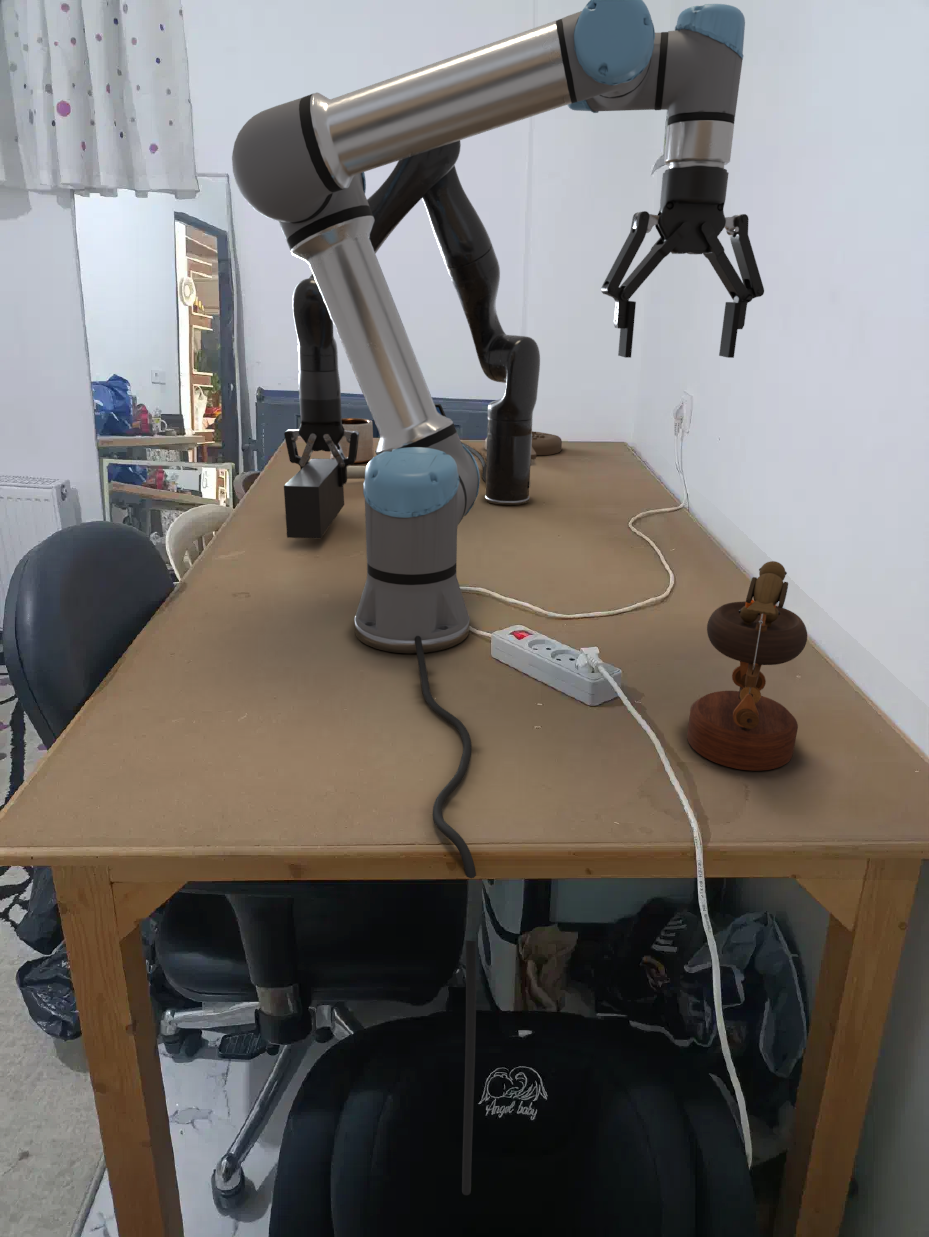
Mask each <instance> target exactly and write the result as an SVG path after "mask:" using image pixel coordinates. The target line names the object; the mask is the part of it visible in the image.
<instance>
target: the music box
mask: <svg viewBox="0 0 929 1237" xmlns="http://www.w3.org/2000/svg"><path fill="white" fill-rule="evenodd" d="M758 571H759V573H758V574H759V576H758V577H757V576H752V578H751V580H750V583H749V587H748V591H747V595H746V598H745V601H733V602H728V603H725V604H722V605H720V606H718V607H717V608H716V609H715V610H714V611H713V612H712V613H711V614H710V616H709V618H708V621H707V624H706V633H707V637H708V640H709V642H710V643H711V645H712V646H713V648H715V650H716V651H717V652H719V653H721V655H723V656H725V657H727V658H728V659H729V658H730V659H732V660H735V661H738V662H739V665H738V666H736V667H735V668H734V669H733V671H732V673H731V679H732V682H733V684H735V686H737V687H739V689H738V690H720V691H719V690H718V691H714V692H710V693H707V694H705V695H703V696H701V697H699V698H697V699H696V700H695V701H694V702H693V703H692V704H691V707H690V710H689V711H690V712H689V718H688V726H687V734H686V737H687V741H688V744H689V745H690V747H691V748H692V749H693V750H694V751H695V752H696V753H697V754H699V755H700V756H702V757H704V758H705V759H707V760H709V761H711V762H713V763H715V764H718V765H720V766H723V767H728V768H731V769H737V770H741V771H753V772H754V771H755V772H756V771H760V772H761V771H769V770H774V769H778V768H781V767H783V766H785V765H786V764H788V763H789V762H790V761H791V759H793V756H794V750H795V746H796V745H795V744H796V740H797V733H798V729H799V723H798V721H797V719H796V718H795V716H794V715H793V713H791V712H790V711H789V710H788V708H786V707H785V706H784V705H782V704H781V703H779V702H777V701H776V700H774V699H771V698H769V697H766V696H764V695H762V692H761V691H762V690H763V689H764V688H765V686H766V681H767V680H766V677H765V675H764V673H762V671H761V669H762V666H775V665H780V664H781V665H782V664H785V663H788V662H790V661H792V660H794V659H795V658H797V657H798V656H800V655H801V654H802V653H803V651H804V649H805V647H806V645H807V642H808V630H807V627H806V624H805V622H804V620H802V618H801V617H800V616H799V615H798V614H797V613H795V612H793V611H791V610H789V609H787V608H785V607H784V605H785V602H786V598H787V594H788V588H789V582H788V581H784V580H785V578H786V575H788V572H787V571H786V569H785V567H784V565H783V564H782V563H780V562H778V561H775V560H770V561H767V562H765V563H764V564H763V565H761V567H760V568H759V569H758ZM777 604H778V605H777Z"/></svg>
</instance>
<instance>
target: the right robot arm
mask: <svg viewBox="0 0 929 1237" xmlns="http://www.w3.org/2000/svg"><path fill="white" fill-rule="evenodd" d="M461 145H462V144H461V140H459V141H456V142H453V143H450V144H447V145H444V146H441V147H438V148H435V149H432V150H429V151H426V152H423V153H420V154H417V155H414V156H411V157H408V158H405V159H402V160H399V161H397V163H396V165H395V166H394V168H393V169H392V171H391V173H390V174H389V176H388V177H387V178H386V179H385V180H384V181H383V183H382V184H381V185H380V187H379V188H377V190H376V191H375V192H373V194H372V195H370V196H369V197H368V198H366V199H367V201H368V204H369V206H370V209H371V212H372V214H373V217H374V220H375V221H374V223H373V226H372V229H371V232H370V237H369V239H370V241H371V244H372V247H373V249H374V252H375V254H377V252H378V251H379V250H380V248H381V247H382V246H383V244H384V243H385V242H386V241H387V239H388V238H389V237H390V235H391V233H393V232H394V230H395V229H396V228H397V227H398V225H399V224H400V223H401V222H402V221H403V219H405V217H406V216H407V215H408V214H409V213H410V211H412V210H413V209H414V207H415V206H417V204H418V203H419V202H420V201H421V200H422V202H423V204H424V208H425V209H426V212H427V216H428V219H429V222H430V225H431V228H432V232H433V235H434V237H435V240H436V243H437V246H438V249H439V252H440V254H441V258H442V260H443V264H444V266H445V268H446V271H447V273H448V275H449V278H450V280H451V283H452V285H453V287H454V289H455V292H456V294H457V297H458V300H459V302H460V305H461V307H462V310H463V314H464V315H465V316H464V317H465V319H466V321H467V324H468V327H469V330H470V334H471V338H472V340H473V344H474V349H475V353H476V355H477V359H478V362H479V365H480V368H481V370H482V372H483V374H484V375H485V376H486V377H487V379H489V380H491V381H493V382H496V383H502V384H505V391H504V394H503V396H501V398H499V399H496V400H493V401H491V402H489V403H488V405H487V415H486V416H487V417H486V418H487V422H486V438H487V450H486V458H484V456H483V455H481V453H479V451H477V450H476V449H475V448H473V447H471V445H470V446H469V445H468V444H466V443H464V442H462V441H461V443H462V445H464V446H465V447H466V448H467V449H468V450H469V451H470V452H471V453H473V455H475V456H476V457H477V458H478V459H479V460H480V462H481V465H482V474H481V477H482V479H483V481H484V483H485V494H484V500H485V502H487V503H490V504H494V505H500V506H520V505H524V504H527V503H529V502H530V486H531V481H532V480H531V462H532V461H531V460H532V459H531V443H532V432H533V417H534V410H535V407H536V404H537V400H538V391H539V379H540V370H541V352H540V347H539V345H538V343H537V341H536V340H535V339H533V338H532V337H530V336H526V335H515V334H506V332H505V331H504V329H503V326H502V324H501V322H500V319H499V316H498V312H497V306H496V303H497V297H498V292H499V288H500V287H499V286H500V282H501V281H500V280H501V269H500V263H499V260H498V257H497V255H496V252H495V249H494V246H493V242H492V240H491V237H490V235H489V233H488V231H487V229H486V227H485V225H484V223H483V220H481V217H480V216H479V215H478V212H477V210H476V209H475V207H474V206H473V204H472V202H471V200H470V199H469V197H468V195H467V194H466V192H465V189H464V188H463V186H462V183H461V180H460V178H459V175H458V171H457V168H456V164H457V162H458V160H459V157H460V153H461ZM292 314H293V321H294V322H293V323H294V327H295V332H296V338H297V344H298V345H297V352H298V354H297V355H298V371H299V372H298V398H299V413H300V414H299V415H300V426H299V428H297V429H291V428H289V429H287V430H286V431H284V433H283V435H284V440H285V445H286V449H287V454H288V459H289V462H290V463H291V464H296V465H298V466H299V470H301V469H302V468H303V467H304V466H305V465H306V464H307V463H308V462H309V461H310V460H311V459H310V458H311V457H312V454H313V453H314V452H321V451H323V452H327V453H330V451H331V453H332V455H333V456H334V457H335V459H336V461H337V463H338V465H339V467H338V479H339V487H343V486H345V485H346V483H347V481H348V479H347V466H351V465H354V464H355V463H354V462H355V461H356V457H357V449H358V440H359V432H358V431H354V432H353V431H347V430H345V429H344V428H343V426H342V418H343V417H342V391H341V379H340V372H339V355H338V353H339V352H338V343H337V340H336V339H335V336H334V323H333V321H332V318H331V316H330V314H329V311H328V309H327V306H326V304H325V302H324V299H323V297H322V294H321V292H320V290H319V287H318V285H317V282H316V280H315V278H314V275H313V273H311V274H310V276H309V277H307V278H305V279H302V280H301V281H299V282H298V283H297V285H296V286H295V288H294V289H293V292H292ZM299 436H300V438H301V439H302V440H303V441H304V443H305V447H304V449H303V451H302V455H301V456H300V455H299V452H298V445H297V441H298V440H299ZM343 436H345V437H346V439H347V442H348V443H350V446H349V455H348V458H345V456H344V454H343V451H342V449H341V447H340V445H339V442H340V440H341V439H342V437H343ZM485 459H486V461H485Z"/></svg>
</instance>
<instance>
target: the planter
mask: <svg viewBox="0 0 929 1237" xmlns="http://www.w3.org/2000/svg"><path fill="white" fill-rule="evenodd" d="M342 426H343V428H344V429H345V430H347V431H353V432H354V431H358V432H359V440H358V449H357V457H356V461H355V462H354V463H353V464H363V463H367V462H368V463H369V461H370V460H371V459H372V458H374V457H375V455H374V452H375V451H374V450H375V449H374V430H373V429H374V428H373V420H371V419H369V418H362V417H361V418H360V417H342ZM339 445H340V447H341V449H342V451H343V454H344V456H345V458H348V455H349V446H350V443H348V442H347V439H346V437H345V436H343V437H342V439H341V440H340V442H339ZM329 453H330V454H329V455H330V456H329V457H330V459H335V457H334V456H333V455H332V453H331V451H330V452H329Z"/></svg>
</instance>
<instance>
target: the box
mask: <svg viewBox="0 0 929 1237" xmlns="http://www.w3.org/2000/svg"><path fill="white" fill-rule="evenodd" d="M338 467H339V465H338V463H337V461H336V459H331V458H314V457H313V458H311V459H309V461H308V463H307V464H306V465H305V466H304V467H303V468H302V469H299V471H298V472H296V473H295V474H294V475H293V476H292V477H291V478H290V479H289V480H288V481H287V482H286V483H285V484H284V485H283V496H284V511H285V512H284V513H285V526H286V538H289V539H291V538H292V539H322V538H323V537H324V535H325V533H326V532H327V531H328V529H329V527H330V526H331V525H332V524H333V522H334V521H335V519H336V517H337V516H338V515H339V513H340V511H341V510H342V509H343V507H344V506H345V488H344V486H345V485H344V486H343V487H339V479H338Z"/></svg>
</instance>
